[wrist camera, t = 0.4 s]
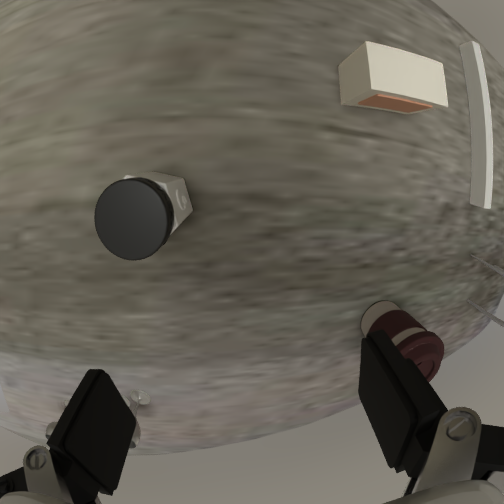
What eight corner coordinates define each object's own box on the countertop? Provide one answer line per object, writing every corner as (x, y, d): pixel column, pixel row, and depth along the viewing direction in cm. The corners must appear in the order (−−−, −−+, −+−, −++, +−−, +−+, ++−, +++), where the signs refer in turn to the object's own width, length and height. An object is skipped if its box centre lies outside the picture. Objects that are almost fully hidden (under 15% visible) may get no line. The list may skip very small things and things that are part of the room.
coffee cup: (398, 337, 45) (438, 389, 31) (349, 346, 45) (381, 408, 31) (407, 288, 42) (458, 335, 28) (355, 296, 42) (397, 353, 28)
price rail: (458, 45, 28) (471, 40, 25) (467, 49, 29) (480, 45, 25) (469, 203, 38) (484, 208, 34) (477, 204, 38) (491, 208, 34)
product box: (337, 66, 31) (365, 41, 22) (404, 78, 32) (442, 63, 22) (340, 106, 33) (371, 91, 24) (407, 116, 34) (448, 108, 24)
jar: (199, 225, 38) (181, 253, 26) (145, 241, 38) (111, 272, 27) (181, 162, 35) (153, 162, 24) (127, 180, 35) (83, 190, 24)
